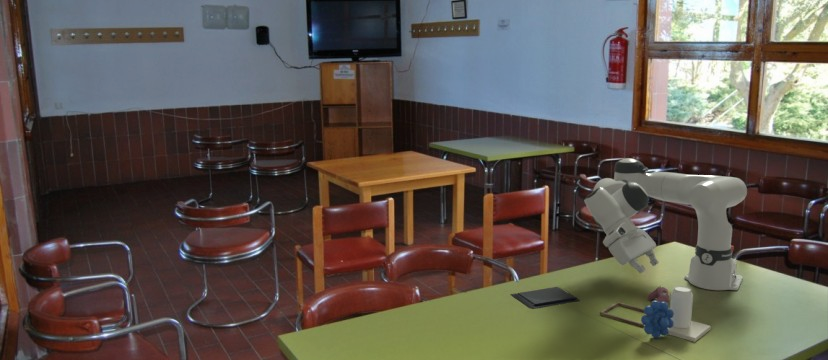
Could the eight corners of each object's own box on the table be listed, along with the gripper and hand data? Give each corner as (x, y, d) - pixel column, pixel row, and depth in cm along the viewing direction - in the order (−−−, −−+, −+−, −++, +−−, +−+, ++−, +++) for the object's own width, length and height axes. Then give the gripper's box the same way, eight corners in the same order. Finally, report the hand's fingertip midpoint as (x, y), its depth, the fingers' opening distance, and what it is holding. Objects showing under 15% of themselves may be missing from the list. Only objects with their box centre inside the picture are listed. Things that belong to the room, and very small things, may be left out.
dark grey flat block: (530, 305, 228) (509, 290, 242) (530, 311, 228) (508, 295, 242) (582, 298, 235) (558, 283, 249) (582, 303, 235) (558, 288, 249)
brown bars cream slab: (617, 303, 232) (617, 300, 232) (710, 329, 212) (710, 325, 212) (599, 314, 224) (599, 311, 223) (694, 342, 203) (695, 338, 203)
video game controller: (662, 314, 227) (673, 297, 226) (649, 307, 228) (661, 290, 226) (657, 303, 237) (668, 286, 235) (645, 297, 237) (656, 280, 236)
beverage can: (664, 324, 213) (667, 287, 211) (679, 320, 216) (682, 284, 213) (679, 331, 207) (682, 293, 205) (695, 327, 210) (698, 290, 208)
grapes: (650, 347, 200) (653, 307, 197) (635, 337, 206) (637, 299, 204) (682, 340, 204) (685, 302, 202) (666, 331, 210) (668, 294, 208)
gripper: (630, 230, 229) (656, 265, 225) (600, 244, 215) (627, 281, 210) (643, 220, 226) (671, 255, 221) (614, 233, 211) (642, 270, 206)
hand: (649, 268), depth 215 cm, fingers open, 8 cm apart
